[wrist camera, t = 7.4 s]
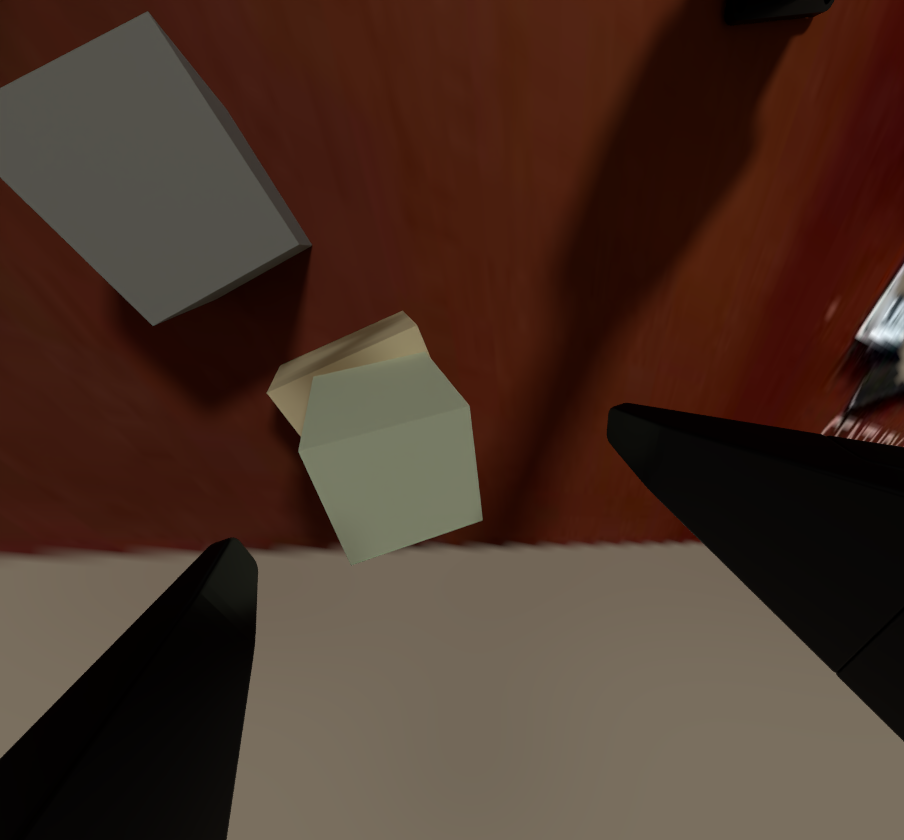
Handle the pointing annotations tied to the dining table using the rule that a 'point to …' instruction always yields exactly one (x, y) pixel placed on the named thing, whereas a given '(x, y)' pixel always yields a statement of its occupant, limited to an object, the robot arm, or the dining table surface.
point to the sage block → (390, 455)
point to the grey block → (144, 172)
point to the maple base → (342, 361)
